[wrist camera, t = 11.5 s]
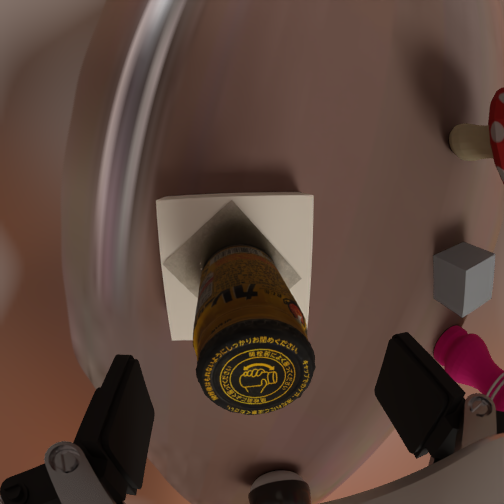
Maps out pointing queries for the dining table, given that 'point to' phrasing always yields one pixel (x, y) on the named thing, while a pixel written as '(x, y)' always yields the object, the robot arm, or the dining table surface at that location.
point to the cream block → (261, 215)
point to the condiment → (244, 316)
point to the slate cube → (463, 277)
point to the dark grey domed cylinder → (280, 489)
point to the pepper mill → (470, 363)
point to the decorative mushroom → (482, 137)
